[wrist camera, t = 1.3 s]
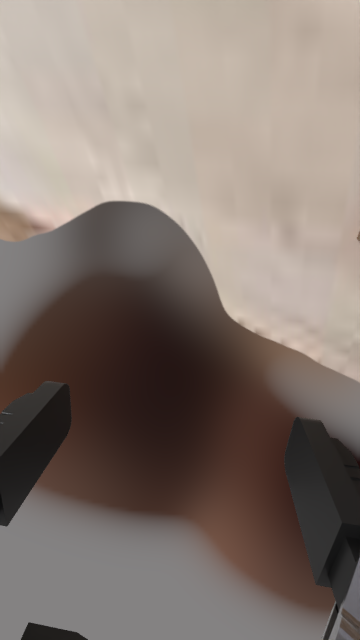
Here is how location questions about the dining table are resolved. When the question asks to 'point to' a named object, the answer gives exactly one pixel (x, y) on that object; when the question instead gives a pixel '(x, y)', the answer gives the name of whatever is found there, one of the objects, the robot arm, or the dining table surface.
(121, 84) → the dining table surface
